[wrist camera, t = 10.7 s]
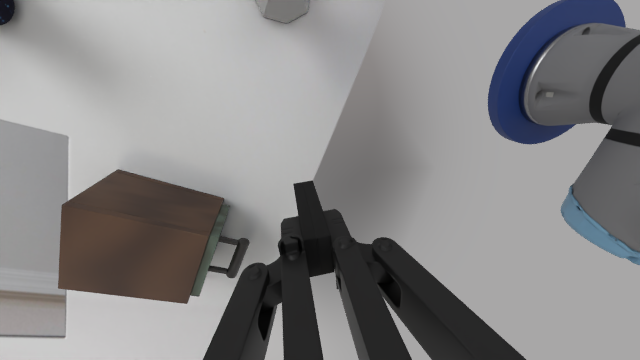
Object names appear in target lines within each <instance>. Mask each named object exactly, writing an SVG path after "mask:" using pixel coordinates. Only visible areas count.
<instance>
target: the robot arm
mask: <svg viewBox="0 0 640 360" xmlns="http://www.w3.org/2000/svg"><path fill="white" fill-rule="evenodd" d="M519 107H520V110H521V113H522V115H523V116H524V117H525V118H526V119H527V120H528V121H530V122H532V123H536V124H540V125H545V126H558V125H570V124H582V123H603V124H609V125H612V127H611V129H610V131H609V132H608V134H607V135H606V137H605V138H604V139H603V141H602V142H601V144H600V145H599V147H598V148H597V150H596V152H595V153H594V155H593V156H592V158H591V159H590V161H589V162H588V164H587V165H586V167H585V168H584V170H583V171H582V173H581V174H580V176H579V177H578V179H577V180H576V181H575V183H574V184H573V185H571V186H570V188H569V193H568V195H567V197H566V199H565V200H564V202H563V204H562V206H561V213H562V216H563V217H564V219H565V221H566V222H567V224H568V225H569V226H570V227H571V228H572V229H574V230H575V231H576V232H577V233H579V234H580V235H581V236H583V237H584V238H585V239H587V240H588V241H590V242H592V243H593V244H595V245H597V246H598V247H600V248H602V249H604V250H606V251H608V252H609V253H611V254H613V255H615V256H618V257H620V258H626V259H628V260H630V261H631V262H633V263H635V264H637V265H640V30H636V29H630V28H625V27H619V26H614V25H608V24H603V23H588V24H581V25H575V26H572V27H569V28H566V29H564V30H562V31H561V32H559V33H558V34H556V35H555V36H553V37H552V38H551V39H550V40H549V41H547V42H546V43H545V44H544V45H543V46H542V47H541V49H540V50H539V51H538V52H537V54H536V55H535V56H534V58H533V59H532V61H531V62H530V64H529V66H528V68H527V70H526V72H525V74H524V76H523V79H522V82H521V86H520V90H519ZM294 190H295V197H296V203H297V209H298V215H299V216H297V217H292V218H286V219H284V220H283V221H282V223H281V240H280V241H279V243H278V248H279V252H280V257H279V258H278V259H277V260H276V261H275V262H273V263H271V264H269V265H267V266H266V265H265V264H263V263H254V264H251V265H249V266H248V267H246V268H245V269H244V271H243V272H242V274H241V276H240V278H239V280H238V282H237V285H236V287H235V289H234V291H233V294H232V296H231V298H230V300H229V303H228V305H227V307H226V309H225V312H224V314H223V316H222V318H221V320H220V323H219V325H218V327H217V329H216V332H215V334H214V336H213V338H212V341H211V343H210V345H209V347H208V350H207V352H206V354H205V356H204V358H203V360H264V359H265V355H266V351H267V346H268V342H269V338H270V334H271V330H272V326H273V321H274V317H275V313H276V309H277V305H278V304H279V303H281V302H282V313H283V314H282V315H283V346H284V360H323V354H322V348H321V342H320V337H319V331H318V325H317V319H316V313H315V307H314V301H313V295H312V289H311V283H310V277H313V276H318V275H323V274H327V273H332V272H334V270H335V273H336V284H337V289H339V292H340V295H341V298H342V302H343V305H344V309H345V313H346V316H347V319H348V323H349V327H350V330H351V334H352V337H353V341H354V344H355V348H356V351H357V355H358V358H359V360H412V359H411V357H410V355H409V352H408V350H407V348H406V346H405V344H404V342H403V340H402V338H401V335H400V333H399V331H398V329H397V327H396V325H395V323H394V321H393V318H392V316H391V314H390V312H389V310H388V308H387V306H386V303H385V301H384V299H385V300H386V301H387V303H388V304H389V305H390V306H391V308H392V309H393V310H394V312H395V313H396V314H397V316H398V317H399V318H400V319H401V321H402V322H403V323H404V324H405V326H406V327H407V328H408V330H409V331H410V332H411V334H412V335H413V336H414V337H415V339H416V340H417V341H418V342H419V344H420V345H421V346H422V348H423V349H424V350H425V351H426V353H427V354H428V355H429V357H430V358H431V359H432V360H526V359H525V358H524V357H523V356H522V355H521V354H519V353H518V352H517V351H516V350H515V349H514V348H513V347H512V346H511V345H509V344H508V343H507V342H506V341H505V340H504V339H503V338H502V337H501V336H499V335H498V334H497V333H496V332H495V331H494V330H493V329H492V328H490V327H489V326H488V325H487V324H486V323H485V322H484V321H483V320H482V319H481V318H479V317H478V316H477V315H476V314H475V313H474V312H473V311H472V310H471V309H469V308H468V307H467V306H466V305H465V304H464V303H463V302H462V301H461V300H459V299H458V298H457V297H456V296H455V295H454V294H453V293H452V292H451V291H449V290H448V289H447V288H446V287H445V286H444V285H443V284H442V283H440V282H439V281H438V280H437V279H436V278H435V277H434V276H433V275H431V274H430V273H429V272H428V271H427V270H426V269H425V268H423V266H422V265H420V264H419V263H418V262H417V261H416V260H415V259H414V258H413V257H412V256H410V255H409V254H408V253H407V252H406V251H405V250H404V249H403V248H401V247H400V246H399V245H398V244H397V243H396V242H395V241H393V240H392V239H389V238H384V237H381V238H377V239H375V240H374V241H373V243H372V244H362V243H358V242H356V240H355V239H354V238H352V237H351V236H350V233H349V231H348V228H347V226H346V224H345V222H344V220H343V218H342V215H341V213H340V212H339V211H337V210H336V209H333V210H328V211H323V210H322V207H321V204H320V201H319V198H318V195H317V192H316V189H315V186H314V183H313V181H307V182H301V183H295V184H294ZM382 296H383V297H382ZM383 298H384V299H383Z"/></svg>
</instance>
